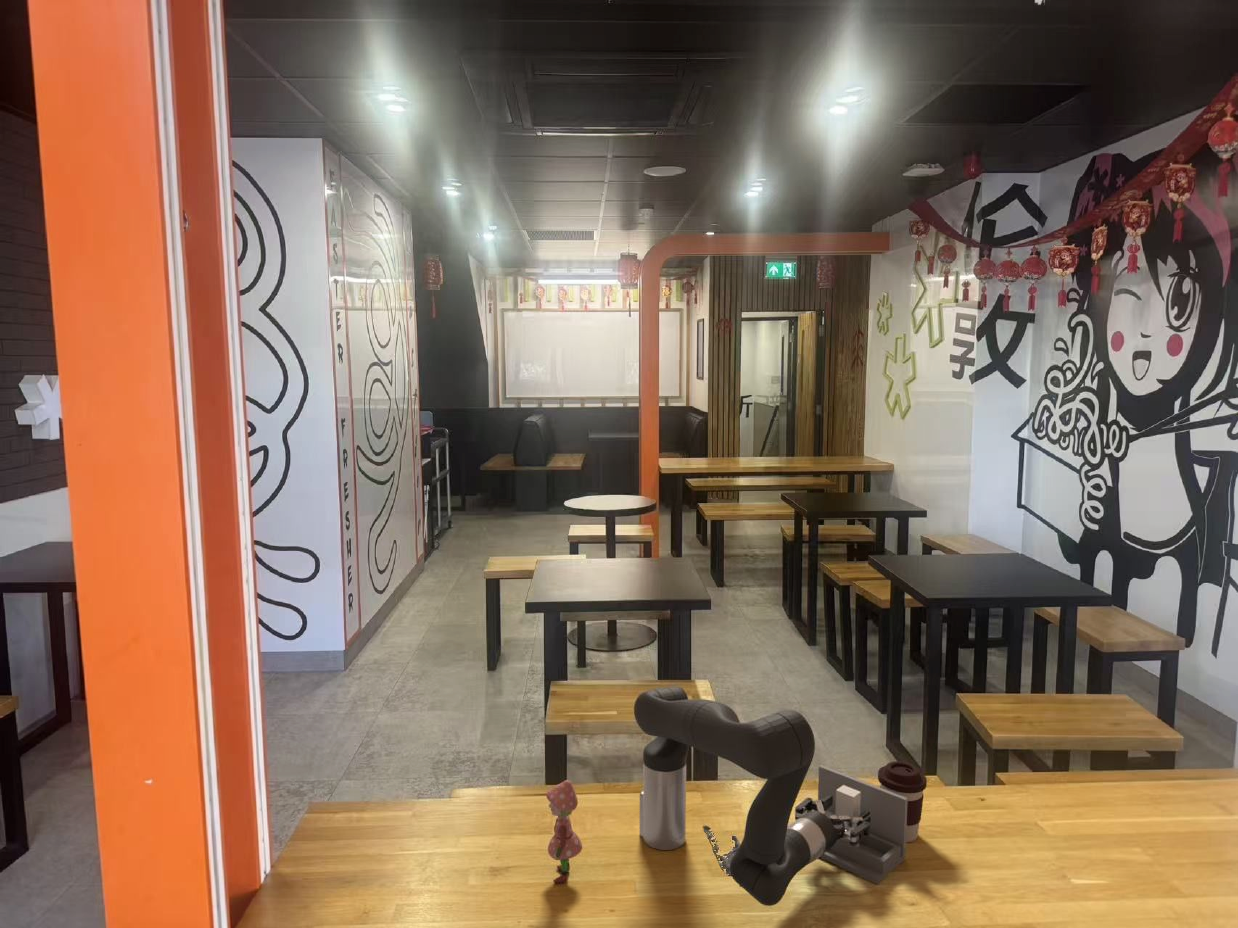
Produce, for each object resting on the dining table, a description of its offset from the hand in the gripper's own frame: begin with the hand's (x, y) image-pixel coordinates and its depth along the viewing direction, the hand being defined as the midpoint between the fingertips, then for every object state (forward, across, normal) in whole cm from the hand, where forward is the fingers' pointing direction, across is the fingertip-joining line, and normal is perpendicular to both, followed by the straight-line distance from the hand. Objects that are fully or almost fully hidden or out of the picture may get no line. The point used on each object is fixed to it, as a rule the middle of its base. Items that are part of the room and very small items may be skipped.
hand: (849, 807), depth 164 cm
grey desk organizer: (-1, 0, +9) cm, 9 cm away
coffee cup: (+13, -5, +10) cm, 17 cm away
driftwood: (-19, +16, +10) cm, 27 cm away
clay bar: (-1, 0, +8) cm, 8 cm away
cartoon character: (-49, +35, +10) cm, 61 cm away
